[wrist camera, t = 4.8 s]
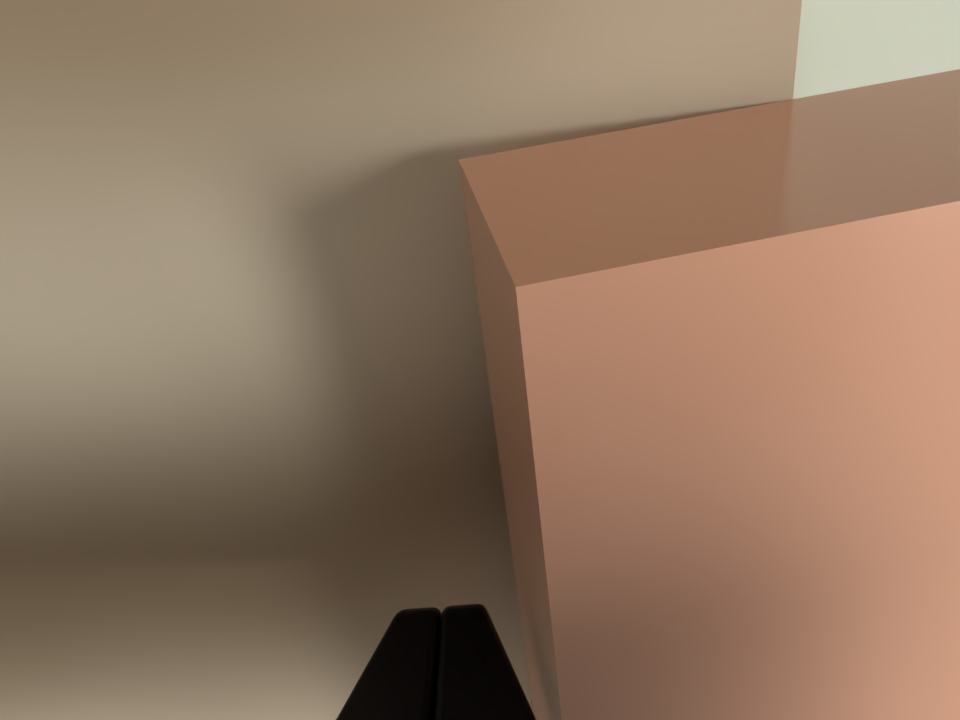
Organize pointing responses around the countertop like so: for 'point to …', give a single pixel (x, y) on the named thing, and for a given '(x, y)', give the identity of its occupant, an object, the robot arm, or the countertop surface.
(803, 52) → the mat
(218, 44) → the soap dish
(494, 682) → the robot arm
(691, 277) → the tile
